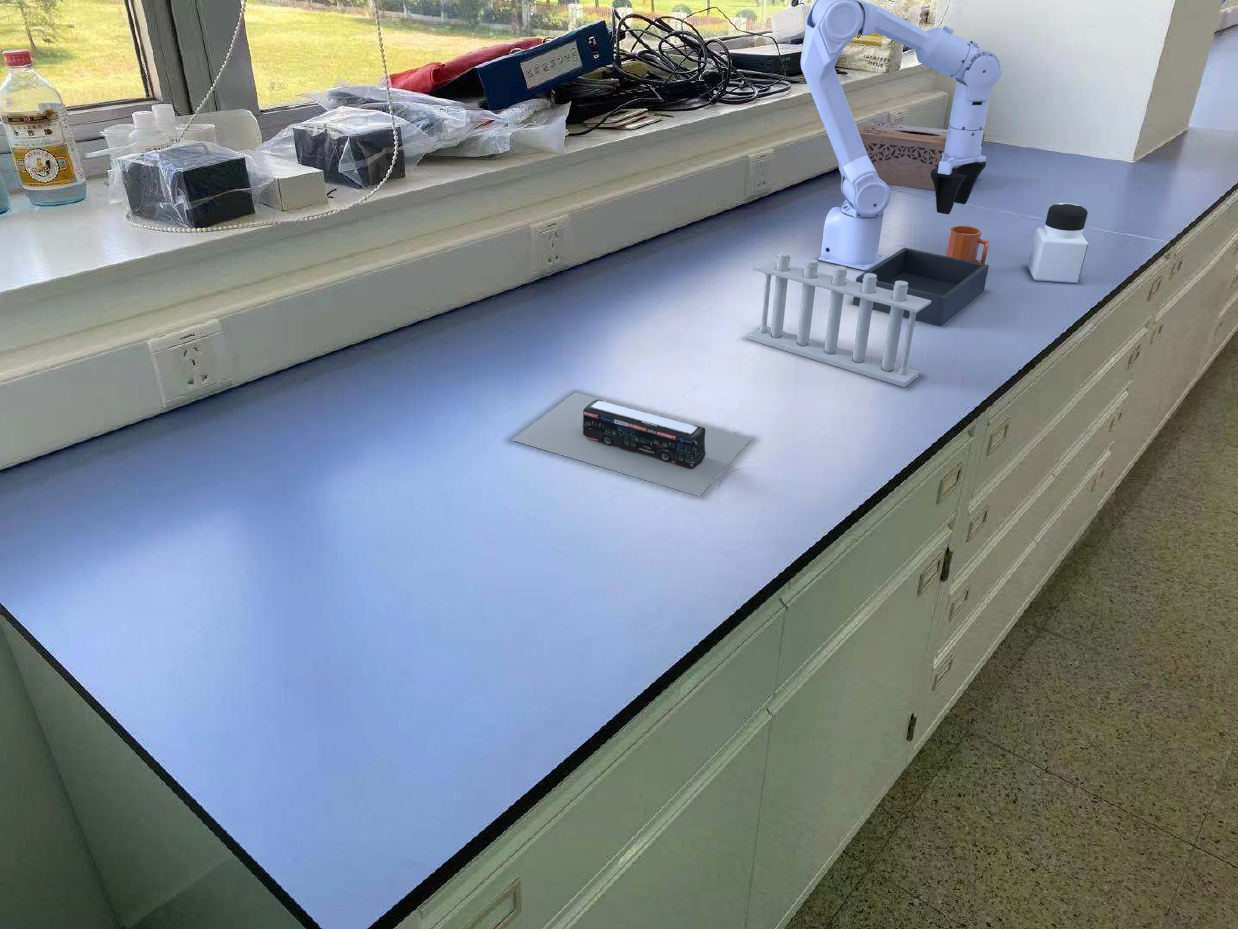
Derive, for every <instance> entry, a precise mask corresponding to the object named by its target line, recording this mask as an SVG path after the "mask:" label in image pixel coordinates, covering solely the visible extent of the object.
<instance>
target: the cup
mask: <svg viewBox="0 0 1238 929" xmlns="http://www.w3.org/2000/svg"><path fill="white" fill-rule="evenodd" d="M982 232H983V231H982V230H981V229H980V228H977V227H975V226H971V225H955V226H951V227H950V228H949V233H948V239H947V245H946V250H945V254H944V256H947V257H952V258H957V259H961V260H966V261H971V262H976V263H981V264H986V259H987V254H988V250H989V246H990V241H989V240H987V239H982V238H981V237H982ZM980 244H981V245H983V249H982V254H981V259H977V257H978V252H979V246H980Z"/></svg>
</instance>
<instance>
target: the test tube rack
mask: <svg viewBox="0 0 1238 929" xmlns="http://www.w3.org/2000/svg"><path fill="white" fill-rule="evenodd" d="M790 256H791V253H790V252H786V251H781V252H778V253H777V257H776V259H777V260H776V261H775V260H772V259H768V260H765V261H764V262H762V263H760V264H757V265H755V266H753V267H752V271H755V272H759V273H763V274H764V288H763V298H762V299H763V302H762V312H761V325H760V326H759V327H758V328H756V329H754V330H752V331H750V332H749V333H747V335H746V339H747V340H748V341H752V342H756V343H759V344H762V345H765V346H769V347H771V348H774V349H778V350H781V351H785V352H788V353H791V354H794V355H798V356H801V357H805V358H807V359H810V360H813V361H817V362H821V363H823V364H826V365H829V366H832V367H833V366H834V367H836V368H841V369H842V370H846V371H850V372H852V373H856V374H859V375H862V376H866V377H869V378H872V379H875V380H879V381H881V382H885V383H888V384H891V385H895V386H898V387H902V388H906V387H907V386H908V385H910V384H911V383H912V382H913V381H915V380H916V379H917V378H918V377H920V376H919V375H920V371H919V370H915V369H912V368H910V367H908V363H909V359H910V358H909V357H910V352H911V346H912V340H913V334H914V328H915V323H916V320H915V318H916V314H917V312H919V311H920V310H922V309H923V308H925V307H926V306H928V305H929V304H931V300H928V299H924V298H920V297H916V296H912V295H908V294H907V289H908V283H907V282H905V281H896V282H895V285H894V291H892V290H888V289H884V288H880V287H876V281H877V278H876V277H877V275H876V274H873V273H866V274H864V278H863V283H860V282H856V280H852V279H847V274H848V269H847V268H848V267H847V266H844V265H836V266H834V269H833V271H832V273H833V274H832V275H831V274H827V273H824V272H819V271H818V267H819V264H818V263H819V261H818V260H817V259H816V258H807V259H805V263H804V267H799V266H796V265H792V264H790V260H791V257H790ZM772 276H775V280H774V291H773V301H772V313H771V324H770V325H771V326H768V316H769V306H770V305H769V303H770V294H771V282H772ZM788 280H790V281H792V282H793V281H794V282H798V283H801V284H802V288H801V289H802V290H801V297H800V298H801V299H800V308H799V315H798V316H799V317H798V327H797V334H794V333H790V332H787V331H784V323H785V313H786V302H787V292H788V291H787V290H788V282H789V281H788ZM816 287H817V288H821V289H824V290H828V291H830V297H829V307H828V314H827V321H826V329H825V330H826V331H825V339H824V342H822V341H818V340H815V339H811V338H810V335H811V329H812V320H813V318H812V317H813V311H814V310H813V309H814V303H815V302H814V301H815V294H816V293H815V292H816ZM861 291H862V292H861ZM845 295H847V296H851V297H854V296H855V297H859V298H861V299H860V306H858V307H859V308H858V314H857V320H856V327H855V334H854V341H853V342H854V343H853V349H852V350H848V349H844V348H842V347H838V342H839V334H840V327H841V318H842V310H843V302H844V296H845ZM873 301H874V302H878V303H882V304H886V305H889V306H891V309H890V313H889V316H888V321H887V322H888V323H887V329H886V335H885V342H884V347H883V355H882V359H879V358H875V357H872V356H868V355H866V354H867V349H868V348H867V347H868V341H869V335H870V328H871V321H872V313H873V309H872V308H873ZM904 309H905V310H909V313H910V315H909V318H908V321H907V328H906V334H905V338H904V339H905V340H904V344H903V345H904V346H903V351H902V356H901V361H900V362H901V363H900V365H899V364H896V360H897V355H898V349H899V343H900V336H901V330H902V325H903V320H904V317H903V313H904Z"/></svg>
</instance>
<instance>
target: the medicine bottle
mask: <svg viewBox="0 0 1238 929" xmlns="http://www.w3.org/2000/svg"><path fill="white" fill-rule="evenodd" d="M1088 213H1089V212H1088V210H1087V209H1086V208H1085V207H1083V206H1081V205H1079V204H1076V203H1071V202H1070V203H1069V202H1059V203H1055V204H1052V205H1051V206H1049V208H1048V211H1047V214H1046V219H1045V223H1044V226H1043V227H1037V228H1036V229H1035V233H1034V237H1033V241H1032V246H1031V249H1030V250H1031V251H1030V255H1029V258H1028V259H1029V260H1028V264H1027V268H1028V270H1029V272H1030V275H1031V276H1032V278H1033V280H1034V281H1037V282H1050V283H1065V284H1066V283H1067V284H1078V283H1079V281H1080V277H1081V273H1082V270H1083V266H1084V261H1085V258H1086V254H1087V251H1088V247H1089V242H1088V241H1087V239H1086V238H1085V236H1084V235H1083V232H1084V230H1085V226H1086V222H1087V218H1088Z"/></svg>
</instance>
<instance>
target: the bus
mask: <svg viewBox="0 0 1238 929" xmlns="http://www.w3.org/2000/svg"><path fill="white" fill-rule="evenodd" d="M511 441H514V442H517V443H521V444H524V445H527V446H529V447H530V446H531V447H533V448H537V449H541V450H544V451H547V452H550V453H554V454H557V455H560V456H564V457H567V458H570V459H574V460H577V461H580V462H584V463H587V464H591V465H594V466H596V467H597V466H598V467H600V468H603V469H607V470H611V471H614V472H616V473H617V472H618V473H621V474H624V475H627V476H628V475H629V476H631V477H634V478H638V479H641V480H644V481H647V482H650V483H654V484H657V485H660V486H664V487H668V488H671V489H673V490H677V491H680V492H685V493H687V494H691V495H694V496H698V497H700V496H701V495H702V494H703V493H704V492H705V491H706V489H707V488H708V487H709V486H710V485H711V484H712V483H713V482H714V481H715V480H716V478H717V477H718V476H720V474H721V473H722V472H723V471H724V469H726V468H727V466H728V465H729V464H730V463H731V462H732V461H733V460H734V459H735V457H737V455H739V453H740V452H741V451H742V450H743V449H744V448H745V446H746V445H747V444H748V443H750V441H751V438H748V437H745V436H741V435H736V434H733V433H729V432H725V431H721V430H718V429H715V428H711V427H706V426H703V425H700V424H699V425H698V424H696V423H691V422H689V421H685V420H680V419H677V418H673V417H670V416H665V415H662V414H658V413H655V412H654V413H653V412H650V411H647V410H644V409H643V410H642V409H638V408H636V407H631V406H627V405H624V404H619V403H617V402H613V401H608V400H605V399H601V398H597V397H594V396H589V395H586V394H582V393H579V392H574V393H573V394H571V395H569V396H568V397H567V398H565V400H563V401H562V402H560V403H559V404H558V405H556V406H555V407H553V408H552V409H551V410H549V411H548V412H547V413H545V415H543V416H541V417H540V418H538V420H536V421H534V422H533V423H532V424H530V425H529V426H528V427H527V428H526V429H524V430H523V431H522V432H520V433H519V434H517V435H516V436H515V437H514V438H512V439H511Z"/></svg>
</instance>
